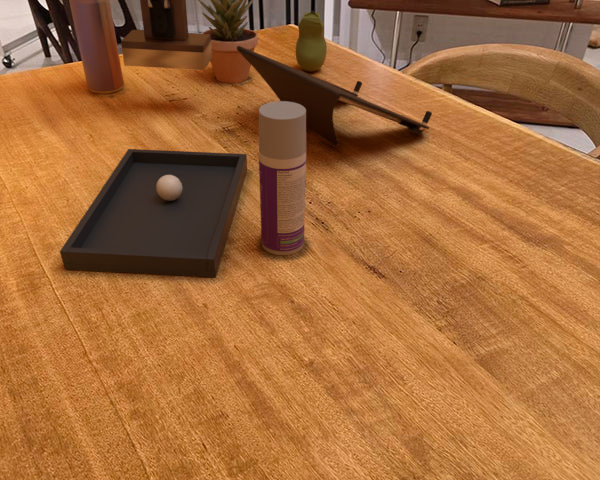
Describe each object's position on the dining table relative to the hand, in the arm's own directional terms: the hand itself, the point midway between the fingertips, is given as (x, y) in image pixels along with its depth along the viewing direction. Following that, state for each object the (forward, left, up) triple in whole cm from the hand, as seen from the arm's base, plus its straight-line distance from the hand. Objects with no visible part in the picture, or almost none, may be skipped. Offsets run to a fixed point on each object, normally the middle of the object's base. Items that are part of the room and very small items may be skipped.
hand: (166, 33), depth 87 cm
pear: (+20, +20, -11) cm, 31 cm away
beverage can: (-14, +7, -11) cm, 19 cm away
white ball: (+6, -30, -9) cm, 32 cm away
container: (+20, -37, -11) cm, 44 cm away
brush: (0, 0, -4) cm, 4 cm away
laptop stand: (+26, -5, -11) cm, 29 cm away
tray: (+6, -32, -11) cm, 34 cm away
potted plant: (+6, +15, -11) cm, 20 cm away
